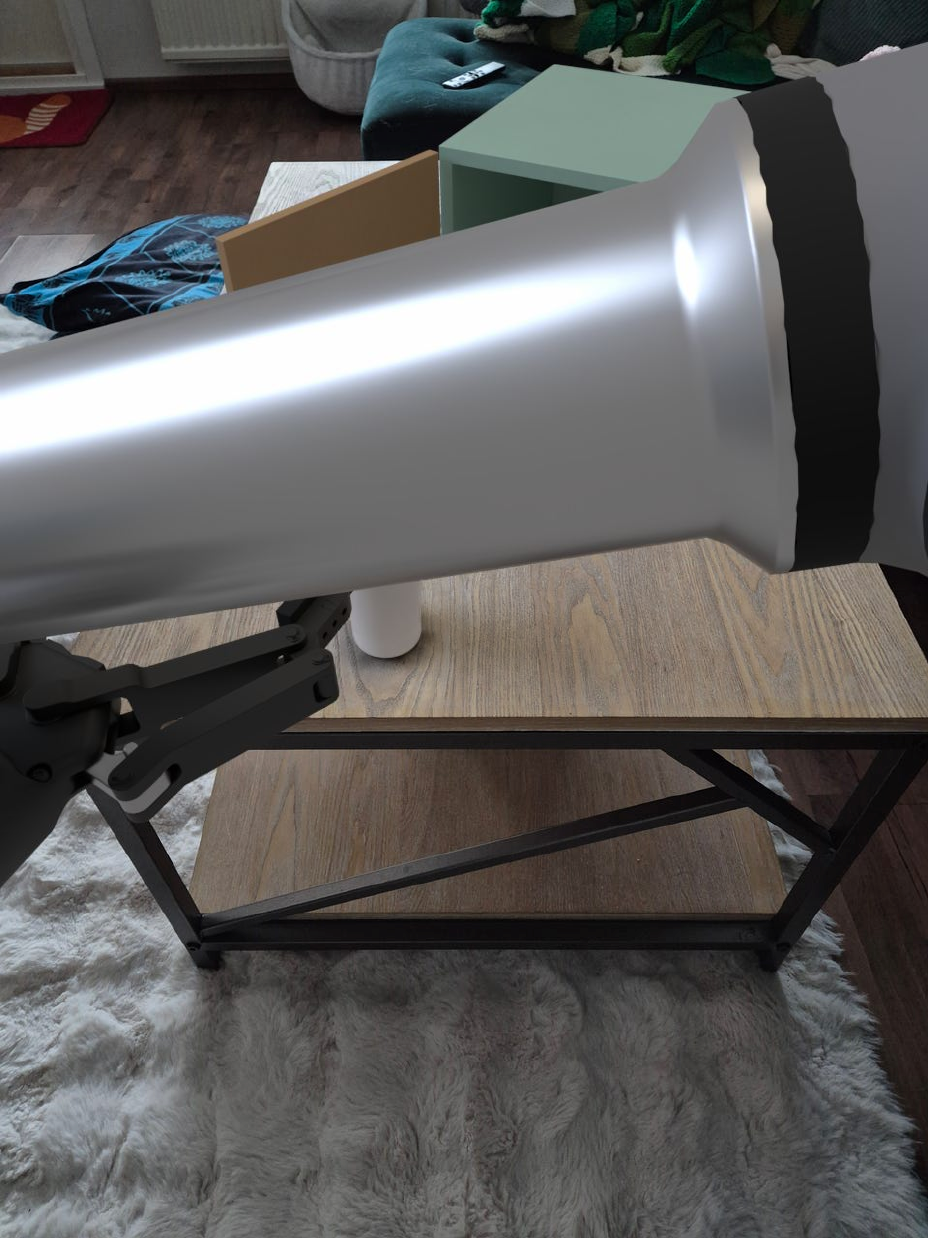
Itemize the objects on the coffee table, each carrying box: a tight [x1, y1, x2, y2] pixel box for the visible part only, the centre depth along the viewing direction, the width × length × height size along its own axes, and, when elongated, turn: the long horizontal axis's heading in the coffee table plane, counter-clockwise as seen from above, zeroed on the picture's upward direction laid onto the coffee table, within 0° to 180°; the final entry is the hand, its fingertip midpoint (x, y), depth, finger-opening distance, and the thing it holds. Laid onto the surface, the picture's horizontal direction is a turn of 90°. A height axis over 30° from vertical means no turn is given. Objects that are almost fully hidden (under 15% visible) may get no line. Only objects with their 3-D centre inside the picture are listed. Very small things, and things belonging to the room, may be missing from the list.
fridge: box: [438, 64, 751, 236], centre depth 82 cm, size 24×21×24 cm
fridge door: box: [214, 149, 441, 293], centre depth 73 cm, size 6×21×24 cm, turn 138°
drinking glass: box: [348, 580, 424, 659], centre depth 60 cm, size 7×7×15 cm
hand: (251, 503), depth 44 cm, fingers open, 13 cm apart
